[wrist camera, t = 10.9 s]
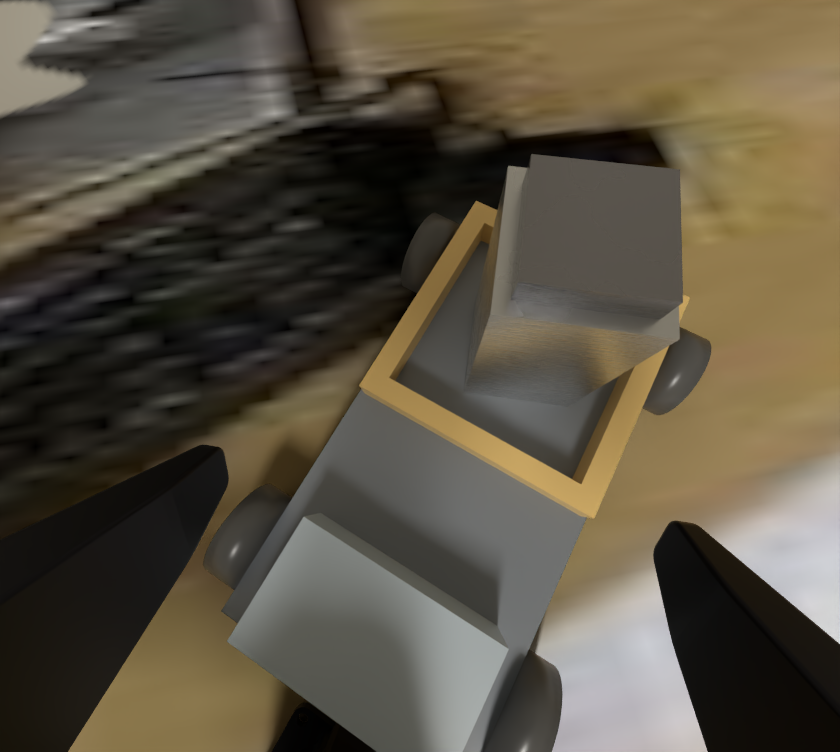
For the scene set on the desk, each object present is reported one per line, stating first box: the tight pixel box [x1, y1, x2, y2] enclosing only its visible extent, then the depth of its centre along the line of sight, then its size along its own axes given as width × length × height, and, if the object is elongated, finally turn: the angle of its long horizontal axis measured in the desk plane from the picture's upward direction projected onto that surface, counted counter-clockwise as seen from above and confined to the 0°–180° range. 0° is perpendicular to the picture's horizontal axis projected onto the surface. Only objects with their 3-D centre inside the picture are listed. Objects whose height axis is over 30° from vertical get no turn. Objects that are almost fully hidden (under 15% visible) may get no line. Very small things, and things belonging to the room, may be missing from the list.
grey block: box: [464, 154, 683, 407], centre depth 15 cm, size 5×5×10 cm
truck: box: [203, 201, 711, 752], centre depth 19 cm, size 23×15×6 cm, turn 150°
